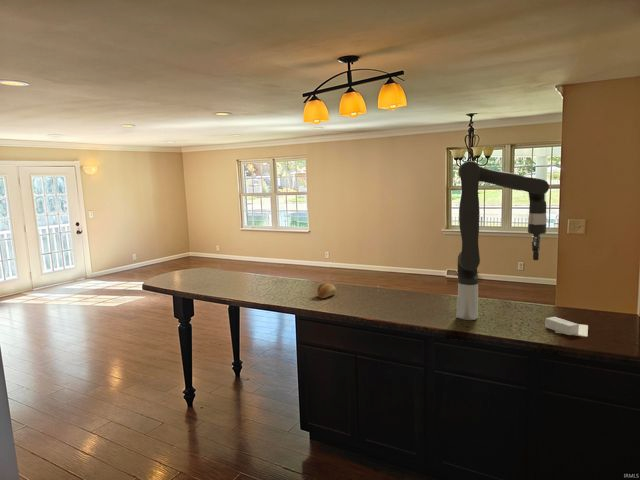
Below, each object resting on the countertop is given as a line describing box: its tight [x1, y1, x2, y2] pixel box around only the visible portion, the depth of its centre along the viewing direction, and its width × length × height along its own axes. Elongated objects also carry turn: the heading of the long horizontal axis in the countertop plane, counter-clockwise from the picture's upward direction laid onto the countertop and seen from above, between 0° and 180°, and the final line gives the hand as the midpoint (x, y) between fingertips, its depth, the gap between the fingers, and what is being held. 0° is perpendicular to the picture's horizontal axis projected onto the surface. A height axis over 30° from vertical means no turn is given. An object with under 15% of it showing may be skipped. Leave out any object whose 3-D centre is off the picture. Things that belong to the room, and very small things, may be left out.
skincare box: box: [544, 316, 579, 336], centre depth 188 cm, size 6×4×12 cm
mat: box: [554, 323, 589, 338], centre depth 190 cm, size 12×16×1 cm
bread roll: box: [316, 282, 337, 299], centre depth 257 cm, size 10×15×8 cm, turn 150°
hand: (535, 260), depth 200 cm, fingers closed
